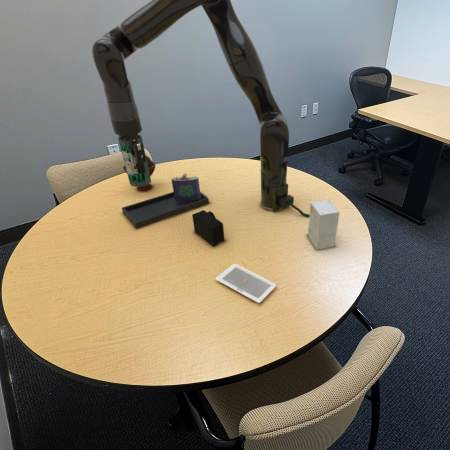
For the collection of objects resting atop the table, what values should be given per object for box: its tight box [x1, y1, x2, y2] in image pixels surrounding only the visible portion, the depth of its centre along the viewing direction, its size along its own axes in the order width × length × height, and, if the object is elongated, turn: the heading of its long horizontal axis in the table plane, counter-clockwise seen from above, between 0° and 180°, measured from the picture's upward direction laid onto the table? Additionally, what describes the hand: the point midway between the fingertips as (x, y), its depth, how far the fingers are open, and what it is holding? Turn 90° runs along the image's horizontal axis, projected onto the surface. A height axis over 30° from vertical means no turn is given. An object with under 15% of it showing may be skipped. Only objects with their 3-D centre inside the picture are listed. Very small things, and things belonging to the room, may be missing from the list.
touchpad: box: [214, 262, 278, 304], centre depth 90 cm, size 8×15×2 cm, turn 58°
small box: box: [307, 199, 340, 251], centre depth 105 cm, size 8×6×13 cm
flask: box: [171, 173, 201, 203], centre depth 120 cm, size 9×3×11 cm, turn 105°
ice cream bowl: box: [122, 155, 156, 192], centre depth 126 cm, size 11×11×15 cm
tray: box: [121, 191, 210, 230], centre depth 119 cm, size 12×26×2 cm, turn 133°
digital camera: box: [191, 209, 225, 247], centre depth 105 cm, size 10×5×7 cm, turn 47°
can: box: [117, 133, 152, 188], centre depth 104 cm, size 6×6×15 cm
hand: (137, 168), depth 106 cm, fingers closed on can, 6 cm apart
